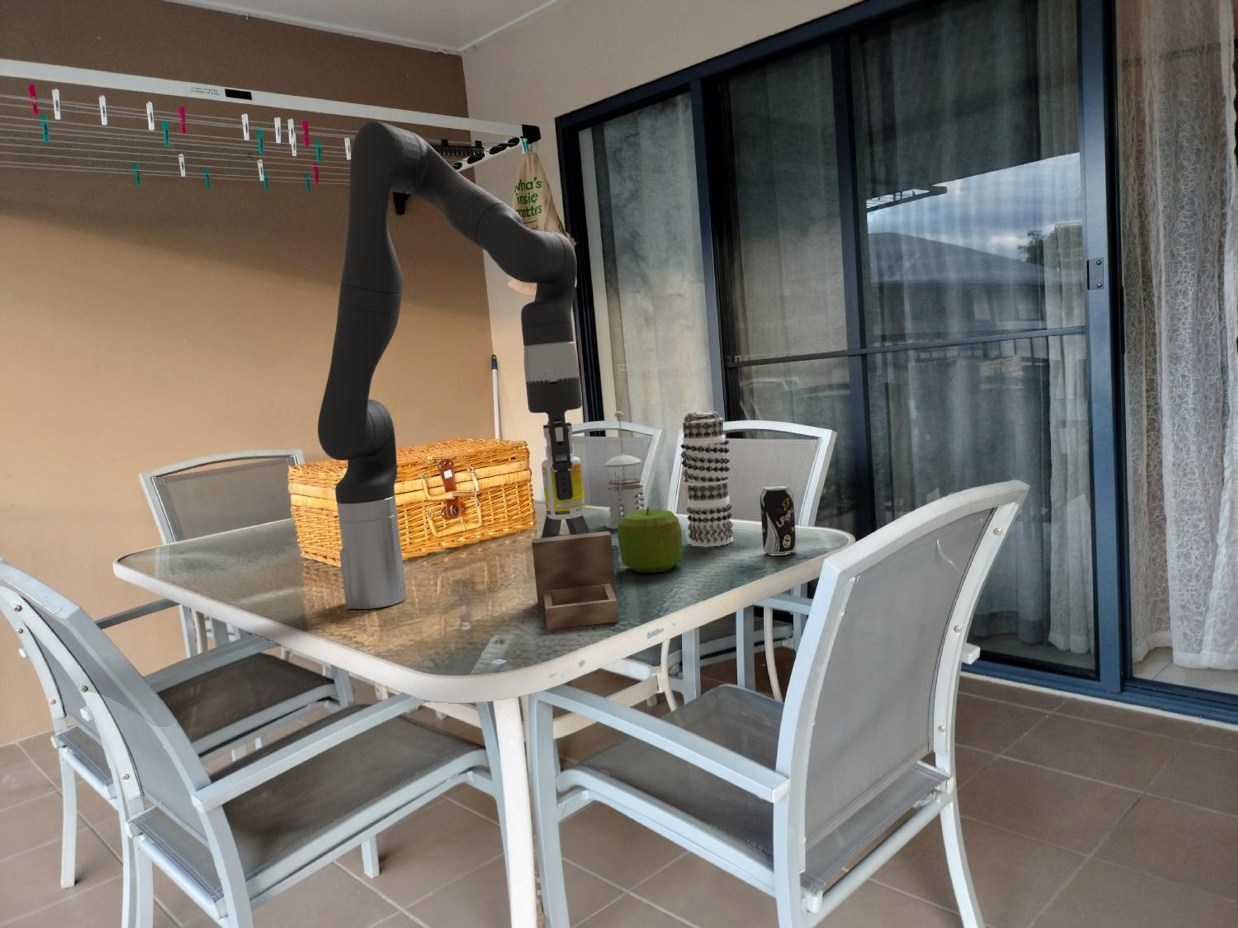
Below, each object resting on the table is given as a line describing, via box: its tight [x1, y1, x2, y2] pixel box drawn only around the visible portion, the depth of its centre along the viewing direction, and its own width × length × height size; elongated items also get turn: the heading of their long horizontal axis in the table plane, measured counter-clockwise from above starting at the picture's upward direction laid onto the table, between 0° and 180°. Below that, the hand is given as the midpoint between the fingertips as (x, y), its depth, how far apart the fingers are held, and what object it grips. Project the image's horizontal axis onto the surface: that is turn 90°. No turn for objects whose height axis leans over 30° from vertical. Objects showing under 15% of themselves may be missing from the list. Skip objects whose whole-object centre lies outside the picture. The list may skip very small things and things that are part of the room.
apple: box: [616, 506, 683, 574], centre depth 154 cm, size 11×11×11 cm
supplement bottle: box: [541, 443, 586, 520], centre depth 127 cm, size 6×6×10 cm
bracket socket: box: [531, 530, 620, 631], centre depth 132 cm, size 12×15×10 cm
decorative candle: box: [680, 410, 734, 547], centre depth 171 cm, size 9×9×25 cm
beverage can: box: [759, 484, 797, 555], centre depth 158 cm, size 6×6×12 cm
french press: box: [604, 410, 646, 530], centre depth 196 cm, size 10×12×25 cm
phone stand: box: [540, 514, 591, 538], centre depth 187 cm, size 9×6×12 cm, turn 70°
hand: (564, 495), depth 128 cm, fingers closed on supplement bottle, 5 cm apart
